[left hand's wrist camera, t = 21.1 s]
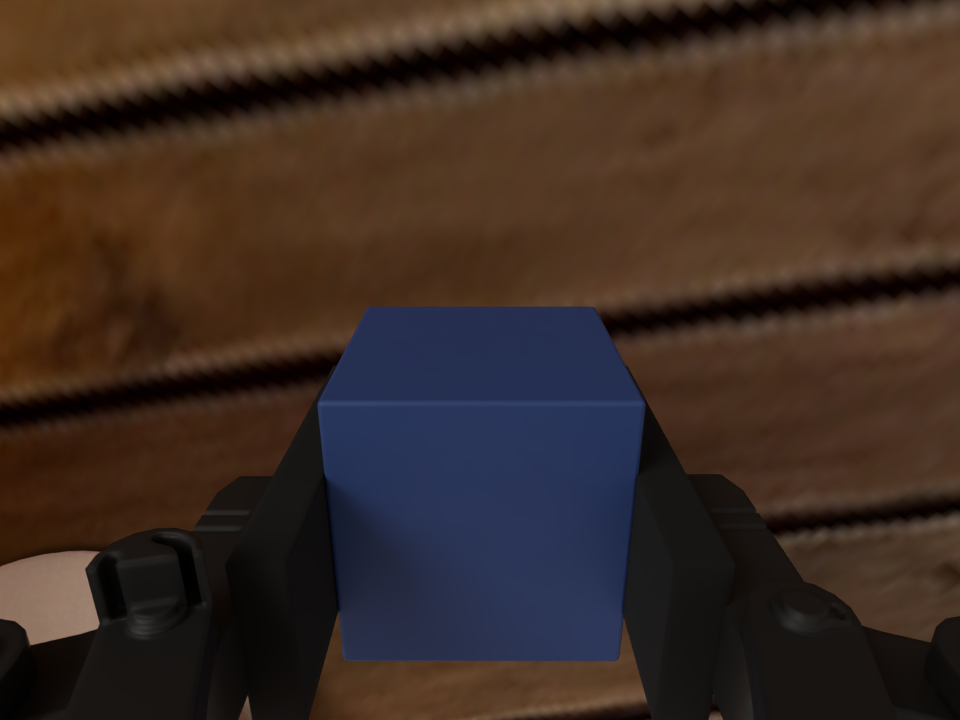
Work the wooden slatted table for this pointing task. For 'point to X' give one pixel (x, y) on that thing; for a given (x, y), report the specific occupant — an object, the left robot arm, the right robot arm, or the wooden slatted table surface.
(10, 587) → the anatomical model
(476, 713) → the wooden slatted table surface
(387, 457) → the blue cube
